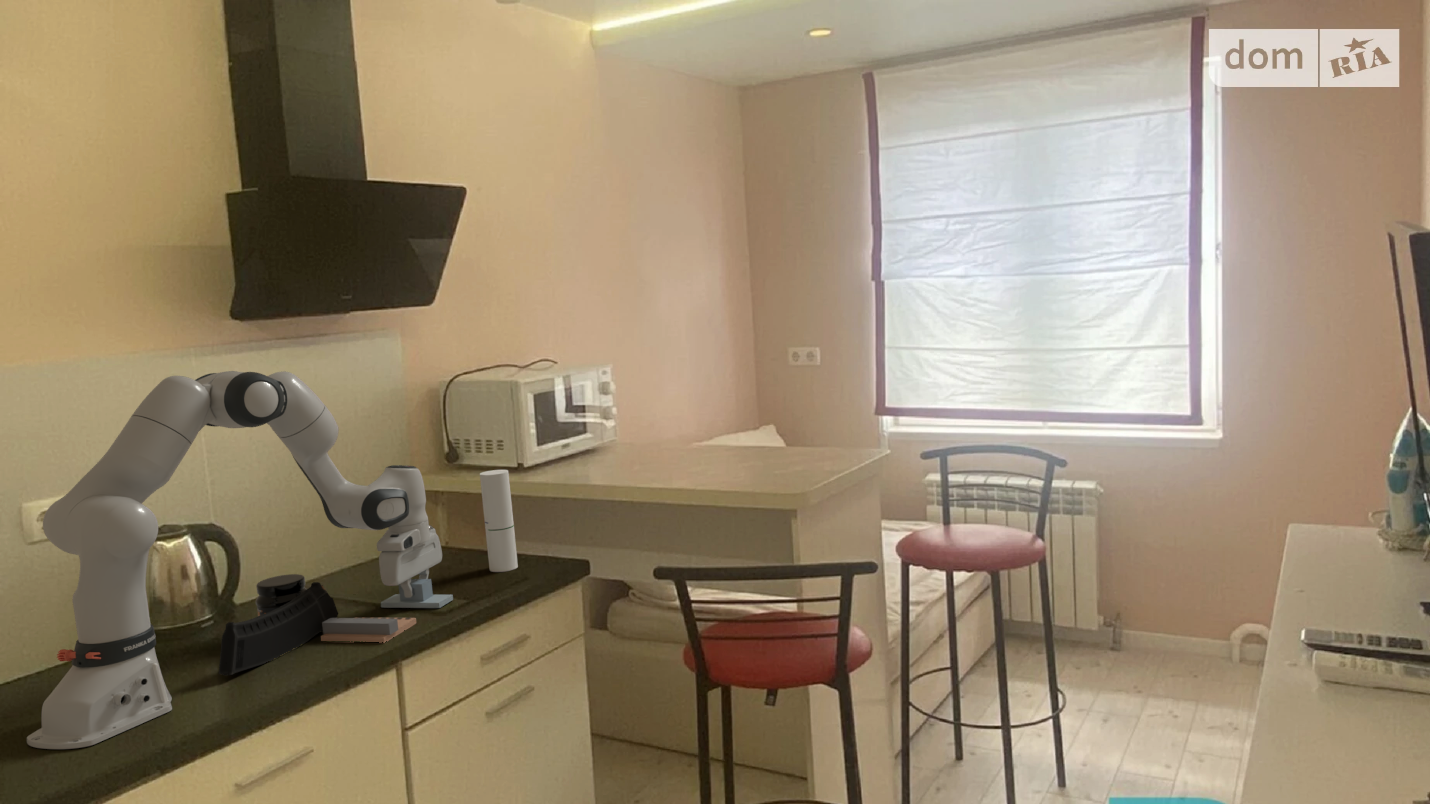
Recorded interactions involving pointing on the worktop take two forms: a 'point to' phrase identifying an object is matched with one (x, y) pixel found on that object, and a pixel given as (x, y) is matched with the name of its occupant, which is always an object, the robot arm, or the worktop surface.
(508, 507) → the cylindrical container
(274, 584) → the supplement container
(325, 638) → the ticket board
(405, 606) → the grey plate with knob
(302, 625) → the magazine
